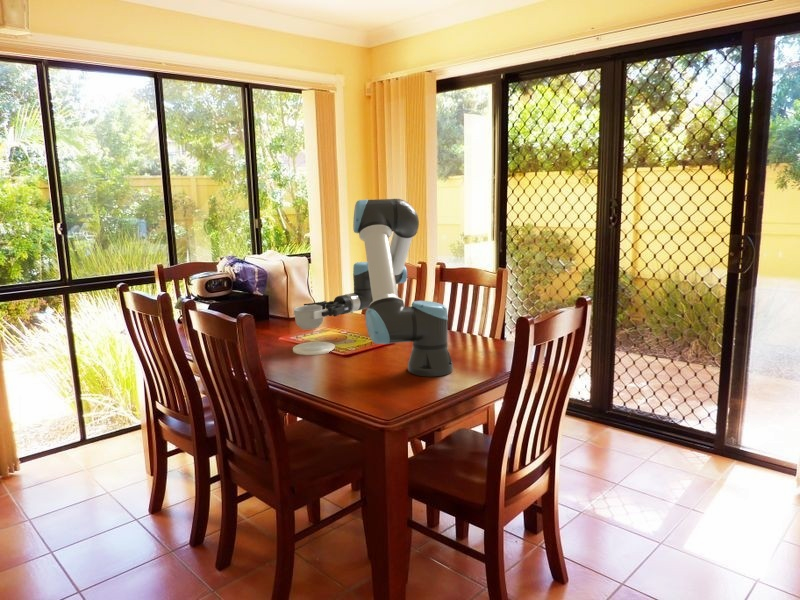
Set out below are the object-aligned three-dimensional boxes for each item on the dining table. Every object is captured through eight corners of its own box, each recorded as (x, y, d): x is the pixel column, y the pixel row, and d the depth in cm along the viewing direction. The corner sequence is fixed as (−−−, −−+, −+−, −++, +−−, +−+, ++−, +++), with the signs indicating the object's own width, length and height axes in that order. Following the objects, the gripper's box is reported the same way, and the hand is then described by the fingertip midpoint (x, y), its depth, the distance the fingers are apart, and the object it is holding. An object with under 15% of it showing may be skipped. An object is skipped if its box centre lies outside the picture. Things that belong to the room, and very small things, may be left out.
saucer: (341, 351, 225) (341, 348, 225) (301, 357, 218) (301, 354, 218) (325, 342, 239) (325, 339, 239) (287, 347, 232) (287, 344, 231)
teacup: (314, 332, 219) (313, 311, 217) (289, 330, 223) (288, 309, 221) (332, 323, 231) (331, 303, 230) (308, 322, 235) (307, 302, 234)
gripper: (367, 316, 232) (325, 327, 216) (327, 309, 247) (285, 319, 231) (366, 298, 231) (324, 307, 215) (326, 291, 246) (283, 300, 230)
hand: (304, 313), depth 223 cm, fingers closed on teacup, 11 cm apart
